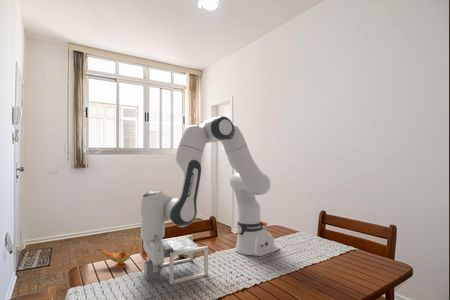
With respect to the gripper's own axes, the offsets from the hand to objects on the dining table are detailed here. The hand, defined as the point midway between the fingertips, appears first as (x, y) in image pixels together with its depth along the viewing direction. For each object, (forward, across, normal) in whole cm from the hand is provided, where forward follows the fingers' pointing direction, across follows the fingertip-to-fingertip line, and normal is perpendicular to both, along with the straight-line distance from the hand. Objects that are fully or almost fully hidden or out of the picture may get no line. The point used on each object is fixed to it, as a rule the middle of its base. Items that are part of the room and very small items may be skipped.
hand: (153, 268), depth 99 cm
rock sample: (+4, +12, -18) cm, 22 cm away
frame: (+3, -1, -12) cm, 12 cm away
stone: (+3, 0, 0) cm, 3 cm away
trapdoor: (-6, -1, -9) cm, 11 cm away
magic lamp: (+3, +17, +12) cm, 21 cm away
